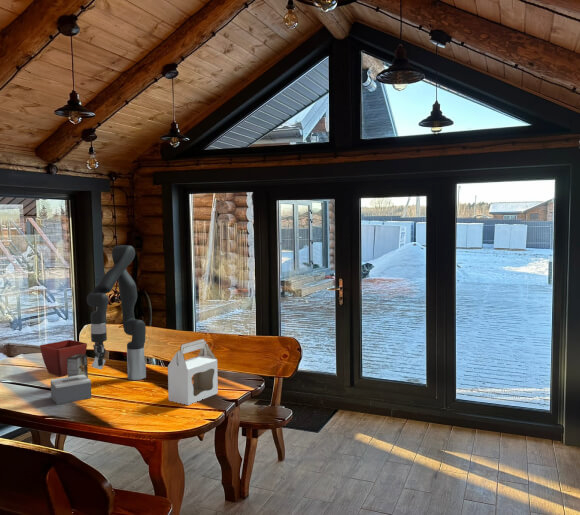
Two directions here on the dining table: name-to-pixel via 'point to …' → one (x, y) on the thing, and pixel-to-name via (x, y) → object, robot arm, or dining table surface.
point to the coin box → (70, 389)
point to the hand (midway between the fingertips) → (99, 365)
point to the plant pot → (60, 355)
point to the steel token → (95, 363)
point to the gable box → (185, 369)
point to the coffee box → (77, 365)
